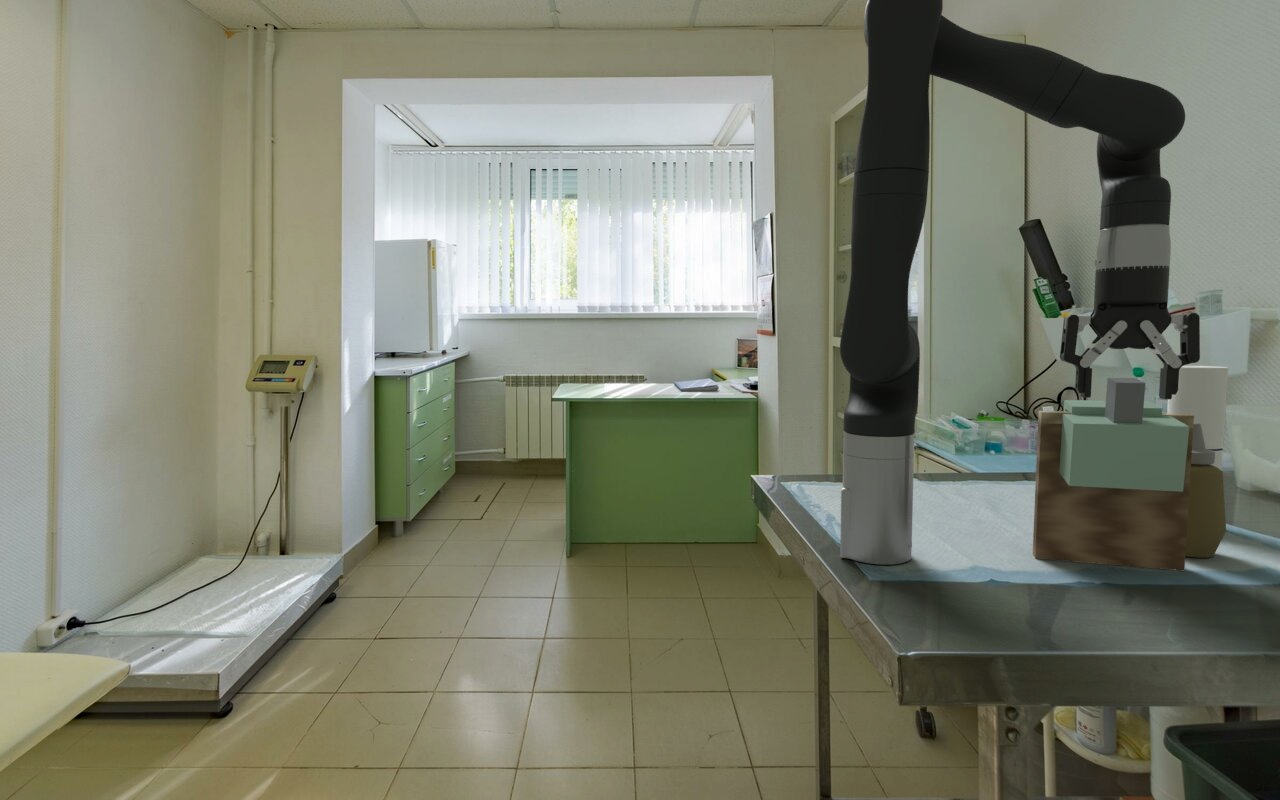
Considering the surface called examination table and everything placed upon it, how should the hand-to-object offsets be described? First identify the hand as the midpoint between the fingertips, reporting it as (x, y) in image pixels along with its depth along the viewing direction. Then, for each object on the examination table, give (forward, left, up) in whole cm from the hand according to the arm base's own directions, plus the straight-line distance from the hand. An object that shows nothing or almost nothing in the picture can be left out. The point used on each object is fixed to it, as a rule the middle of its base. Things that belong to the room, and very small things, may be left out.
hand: (1124, 398), depth 90 cm
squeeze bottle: (+12, +13, -23) cm, 28 cm away
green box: (0, +3, -10) cm, 11 cm away
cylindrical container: (+17, +29, -23) cm, 40 cm away
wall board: (0, +7, -22) cm, 24 cm away
